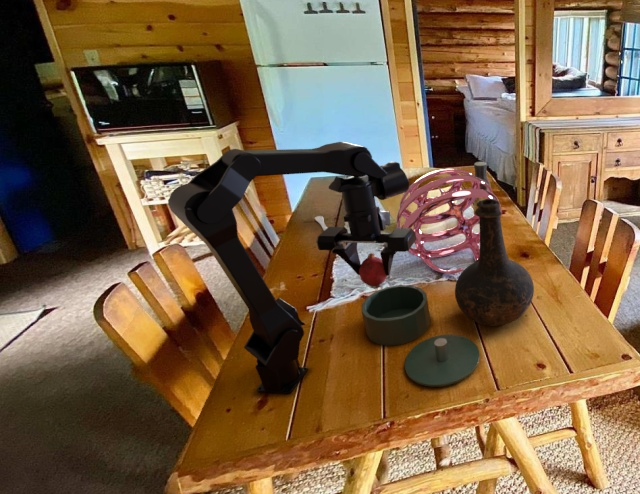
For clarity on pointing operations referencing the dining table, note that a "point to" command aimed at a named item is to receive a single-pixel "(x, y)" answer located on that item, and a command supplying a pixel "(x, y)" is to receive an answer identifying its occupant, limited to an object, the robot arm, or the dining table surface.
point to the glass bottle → (493, 276)
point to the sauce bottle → (481, 173)
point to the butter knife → (321, 222)
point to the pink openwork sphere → (443, 214)
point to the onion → (372, 271)
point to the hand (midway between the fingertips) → (374, 274)
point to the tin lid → (442, 360)
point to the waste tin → (396, 315)
